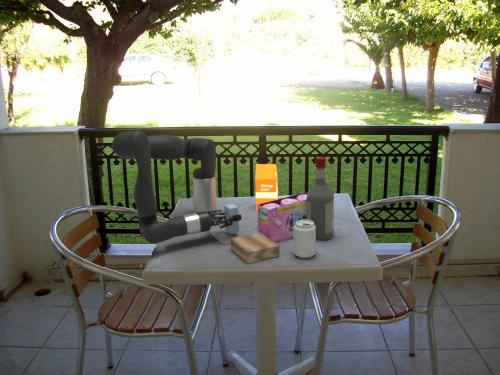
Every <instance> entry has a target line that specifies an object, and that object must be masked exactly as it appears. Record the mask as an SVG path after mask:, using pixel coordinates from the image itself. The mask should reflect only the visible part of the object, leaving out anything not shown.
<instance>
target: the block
mask: <svg viewBox="0 0 500 375" xmlns="http://www.w3.org/2000/svg"><path fill="white" fill-rule="evenodd" d="M223 207H224V208H223V211H224V213H225V215H226V216H233V215H238V214H239V207H238V206H237V205H235V204H234V203H228V204H224V206H223ZM226 219H228V218H226ZM239 226H240V220H239V221H234V222H233V225H230V226H227V227H224V229H225V230H226V231H227V232H229V233H230V234H233V233H238V232H239Z"/></svg>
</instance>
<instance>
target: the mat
mask: <svg viewBox="0 0 500 375" xmlns="http://www.w3.org/2000/svg"><path fill="white" fill-rule="evenodd" d="M209 234H210V235H211V237H213V238H214V239H216V241H218V242H219V243H220V244H221V245H222V246H224V245H228V244H231V239H232V238H237V237H241V236H246V235H250V234H254V233H253V232H252V231H250V230H248V229H247V228H245V226H242V225H241V224H239V232H238V233H233V234H230V233H229V232H227V231H226V230H225V228H220V229H216V230H212V231H211V230H210V231H208V235H209Z"/></svg>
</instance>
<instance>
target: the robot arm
mask: <svg viewBox="0 0 500 375" xmlns="http://www.w3.org/2000/svg"><path fill="white" fill-rule="evenodd" d="M111 149H112V151H113V153H114V154H115V155H116V156H117V157H119V158H120V159H125V160H132V159H133V160H134V159H135V161H136V165H137V176H136V181H135V184H134V187H133V200H134V204H135V208H136V212H137V215H138V216H137V217H138V227H139V232H140V234H141V236H142V237H143V238H144V239H145V240H146V241H147V242H148V243H150V244H159V243H163V242H165V241H168V240H172V239H173V238H175V237H177V238H178V237H182V236H187V235H195V234H199V233H204V232H210V231H211V229H212V227H219V229H225V227H227V226H230V225H233V222H234V221H239V222H240V221H241V220H242V214H241V213H238V215H233V216H226V215H225V213H224V210H222V209H218V205H217V204H218V200H217V187H216V184H217V183H216V170H217V147H216V144H215V141H214V140H213V139H211V138H200V137H192V138H181V137H179V136H177V135H169V134H156V135H148V136H147V134H146V133H145V132H144V131H141V130H131V131H123V132H120V133H118V134H117V135H115V136H114V138H113V140H112V142H111ZM180 158H185V159H189V160H191V161H199V162H201V166H200V167H197V168H195V169H193V170H192V183H193V193H192V207H193V208H192V210H193V212H192V213H187V214H184V215H180V216H174V217H171V218H168V220H167V221H164V222H159V221H158V216H157V213H158V205H157V200H156V195H155V193H154V192H155V191H154V186H153V185H154V184H153V173H152V172H153V169H152V159H155V160H164V161H165V160H168V161H173V160H174V161H175V160H178V159H180ZM226 218H228V219H226Z"/></svg>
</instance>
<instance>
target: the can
mask: <svg viewBox="0 0 500 375" xmlns="http://www.w3.org/2000/svg"><path fill="white" fill-rule="evenodd" d="M316 242H317V240H316V227H315V225H314V222H313V221H311V220H298V221H296V222H295V225H294V237H293V255H295V256H296V257H297V256H298V257H297V258H300V259H309V258H312V257H313V256H314V255H315V254H316V253H317V252H316V251H317V250H316V248H317V246H316Z"/></svg>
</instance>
